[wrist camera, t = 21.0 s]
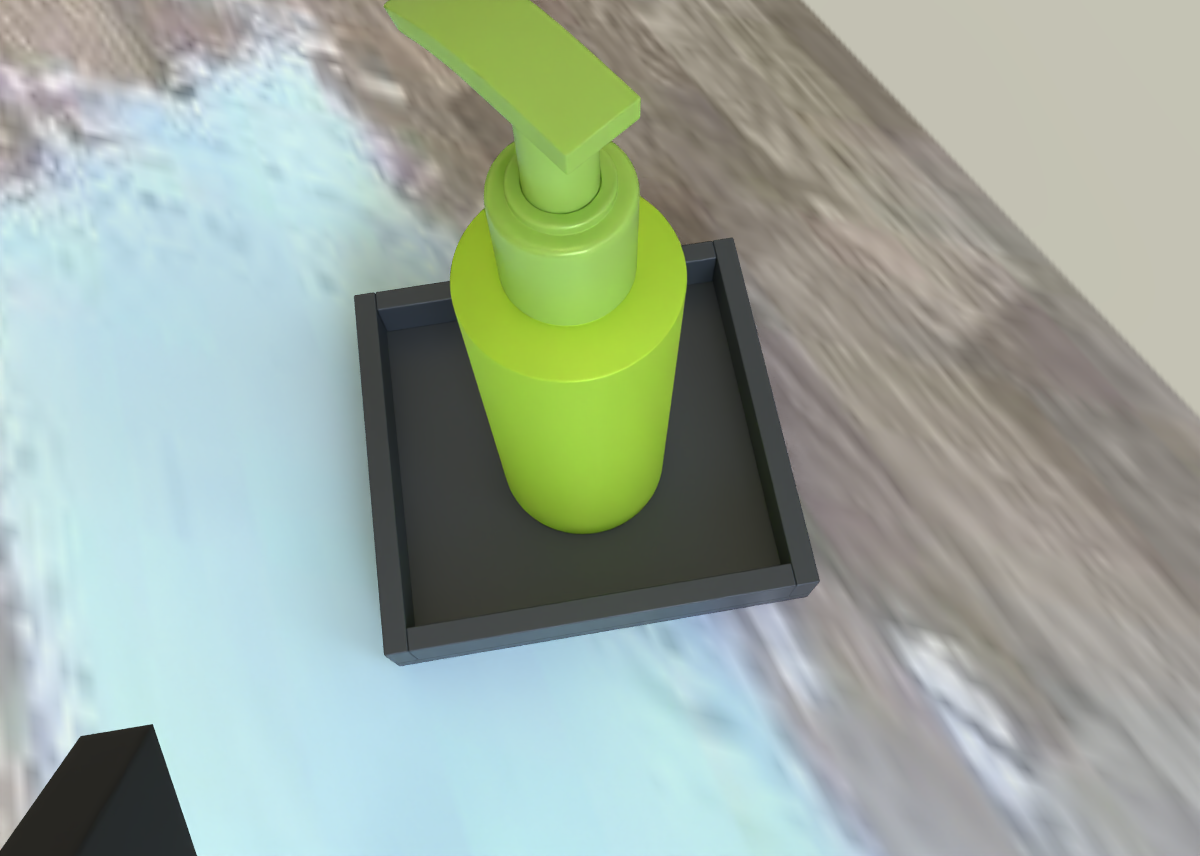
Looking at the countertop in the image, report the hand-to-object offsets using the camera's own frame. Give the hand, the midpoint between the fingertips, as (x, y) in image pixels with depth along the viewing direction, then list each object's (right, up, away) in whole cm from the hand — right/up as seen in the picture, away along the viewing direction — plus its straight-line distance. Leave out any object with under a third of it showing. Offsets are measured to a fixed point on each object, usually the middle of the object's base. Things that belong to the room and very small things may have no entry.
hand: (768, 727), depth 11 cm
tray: (-3, +2, +26) cm, 27 cm away
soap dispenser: (-3, +2, +26) cm, 26 cm away
